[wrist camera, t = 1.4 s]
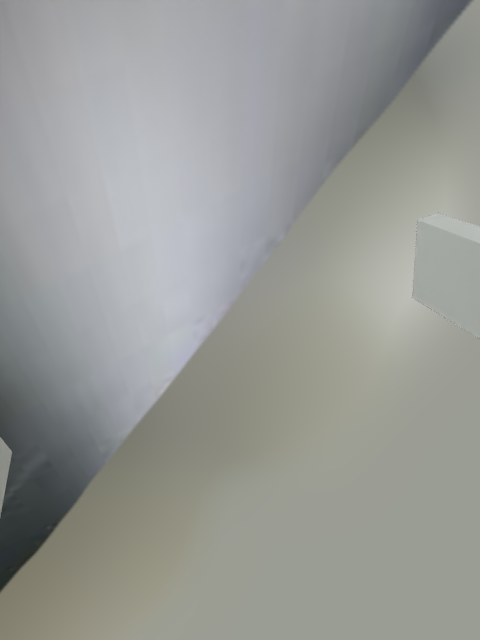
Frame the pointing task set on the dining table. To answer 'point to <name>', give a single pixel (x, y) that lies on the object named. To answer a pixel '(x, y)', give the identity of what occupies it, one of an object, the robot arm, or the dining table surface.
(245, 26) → the dining table surface
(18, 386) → the dining table surface
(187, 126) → the dining table surface
